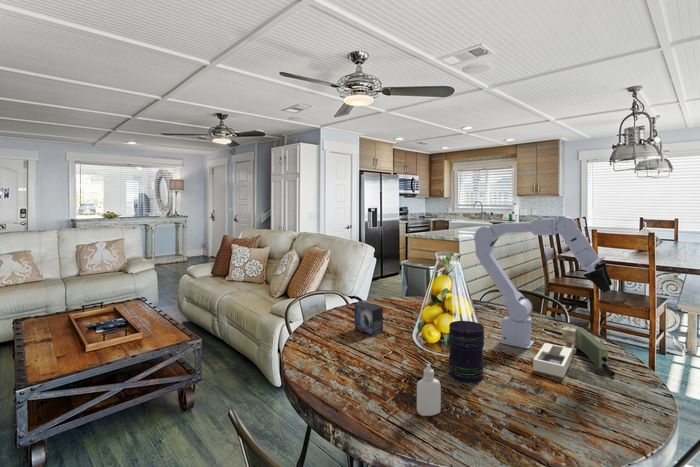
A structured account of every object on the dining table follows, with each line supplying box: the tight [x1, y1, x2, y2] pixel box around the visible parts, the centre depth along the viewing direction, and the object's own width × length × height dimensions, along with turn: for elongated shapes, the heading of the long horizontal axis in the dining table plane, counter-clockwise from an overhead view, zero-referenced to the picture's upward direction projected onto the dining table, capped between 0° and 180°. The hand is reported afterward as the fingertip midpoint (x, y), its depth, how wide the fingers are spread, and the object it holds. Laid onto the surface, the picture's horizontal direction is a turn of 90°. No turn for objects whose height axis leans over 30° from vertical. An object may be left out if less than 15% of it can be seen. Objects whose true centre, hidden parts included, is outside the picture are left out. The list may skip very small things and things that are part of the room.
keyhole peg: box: [561, 326, 577, 355], centre depth 127 cm, size 4×4×8 cm
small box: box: [353, 301, 384, 336], centre depth 149 cm, size 11×6×10 cm, turn 42°
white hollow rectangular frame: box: [532, 342, 574, 380], centre depth 117 cm, size 16×8×4 cm, turn 142°
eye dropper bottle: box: [416, 363, 442, 417], centre depth 92 cm, size 4×6×12 cm
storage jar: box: [448, 320, 485, 384], centre depth 110 cm, size 10×10×15 cm
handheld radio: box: [574, 326, 616, 377], centre depth 120 cm, size 7×3×25 cm
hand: (608, 288), depth 118 cm, fingers open, 7 cm apart
